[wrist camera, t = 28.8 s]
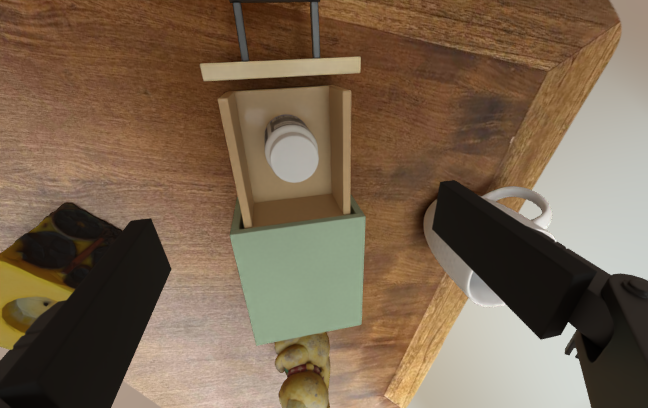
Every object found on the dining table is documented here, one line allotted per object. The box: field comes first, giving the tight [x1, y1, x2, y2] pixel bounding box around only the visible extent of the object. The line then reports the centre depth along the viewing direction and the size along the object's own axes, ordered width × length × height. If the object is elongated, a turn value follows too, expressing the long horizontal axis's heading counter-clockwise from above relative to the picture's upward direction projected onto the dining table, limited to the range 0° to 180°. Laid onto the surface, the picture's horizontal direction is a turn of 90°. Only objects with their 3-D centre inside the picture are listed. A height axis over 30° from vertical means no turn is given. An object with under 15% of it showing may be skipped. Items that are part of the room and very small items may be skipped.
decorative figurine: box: [275, 332, 330, 408], centre depth 40 cm, size 10×8×15 cm
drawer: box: [200, 0, 361, 229], centre depth 26 cm, size 21×12×7 cm, turn 2°
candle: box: [0, 203, 122, 350], centre depth 29 cm, size 10×10×10 cm
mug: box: [423, 186, 557, 307], centre depth 35 cm, size 15×11×13 cm
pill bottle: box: [264, 114, 319, 183], centre depth 26 cm, size 5×5×8 cm
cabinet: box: [230, 194, 365, 346], centre depth 35 cm, size 17×14×9 cm
